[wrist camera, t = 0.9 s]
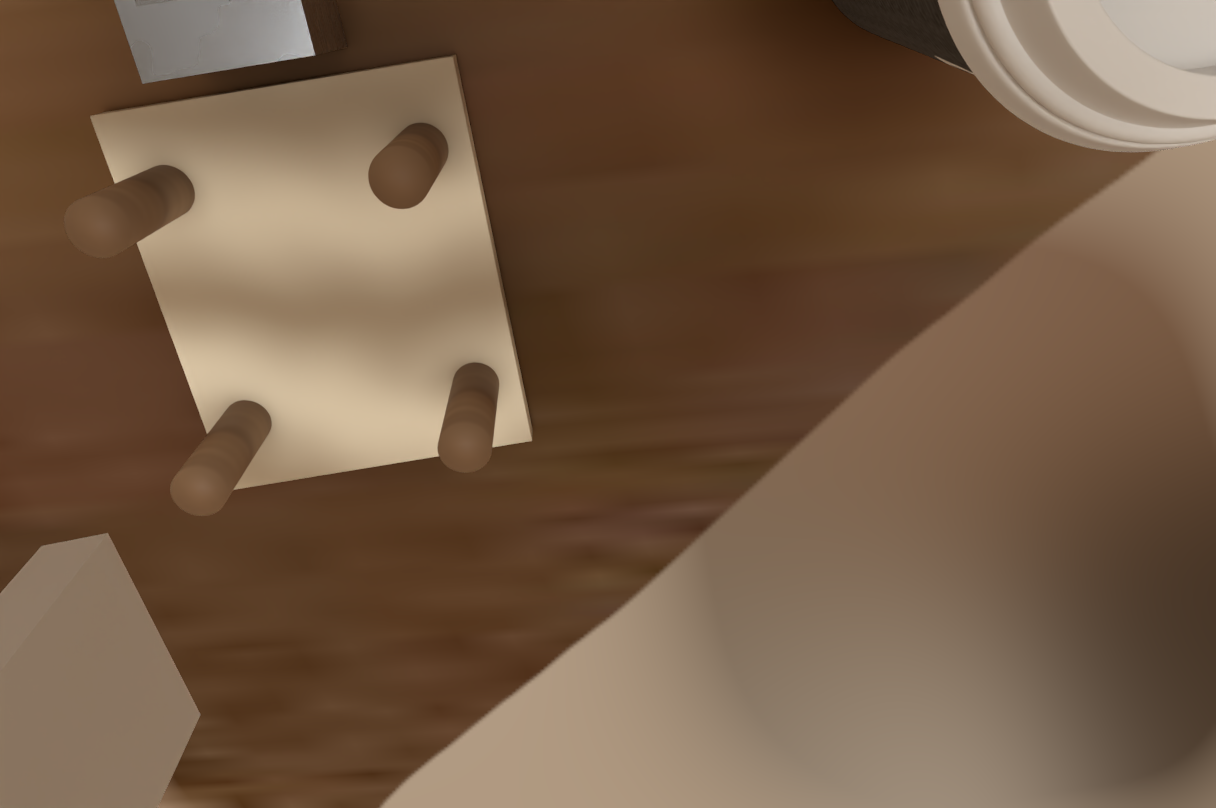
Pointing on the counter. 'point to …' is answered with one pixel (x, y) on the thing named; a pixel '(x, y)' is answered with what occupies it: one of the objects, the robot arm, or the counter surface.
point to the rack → (317, 273)
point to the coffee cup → (1073, 62)
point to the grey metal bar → (225, 33)
